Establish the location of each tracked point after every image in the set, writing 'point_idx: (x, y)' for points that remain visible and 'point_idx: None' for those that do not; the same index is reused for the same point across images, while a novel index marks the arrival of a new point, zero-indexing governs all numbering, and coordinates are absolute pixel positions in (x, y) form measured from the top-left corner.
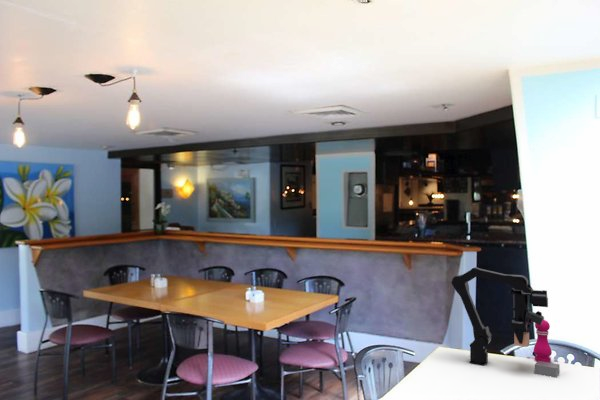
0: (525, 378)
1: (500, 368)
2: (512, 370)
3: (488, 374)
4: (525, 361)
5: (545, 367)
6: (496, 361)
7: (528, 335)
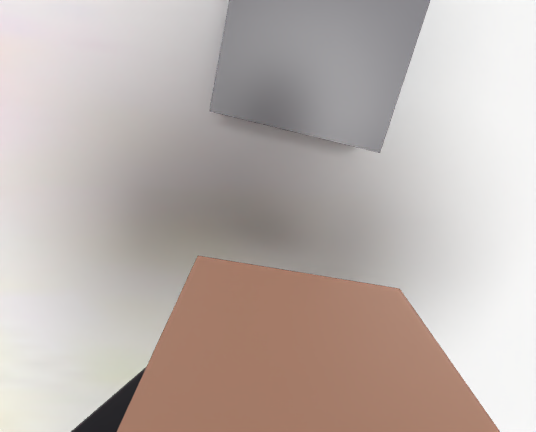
0: (509, 212)
1: None
2: None
3: None
4: (14, 200)
5: (410, 47)
6: None
7: (274, 410)
